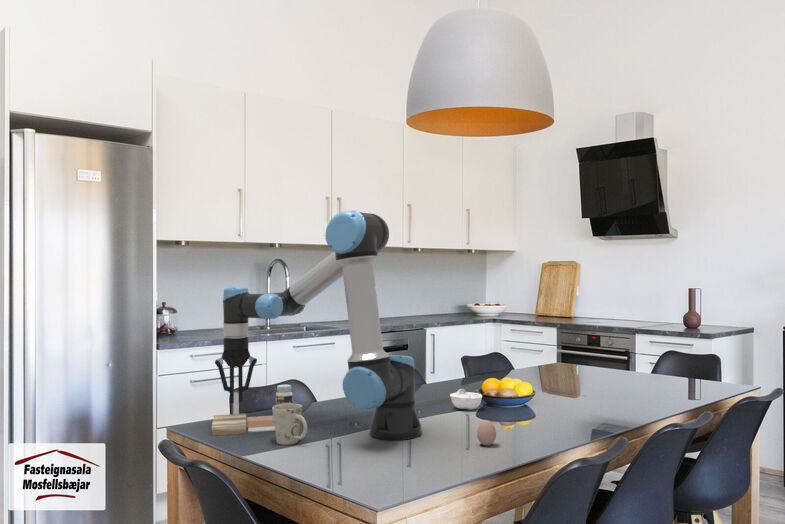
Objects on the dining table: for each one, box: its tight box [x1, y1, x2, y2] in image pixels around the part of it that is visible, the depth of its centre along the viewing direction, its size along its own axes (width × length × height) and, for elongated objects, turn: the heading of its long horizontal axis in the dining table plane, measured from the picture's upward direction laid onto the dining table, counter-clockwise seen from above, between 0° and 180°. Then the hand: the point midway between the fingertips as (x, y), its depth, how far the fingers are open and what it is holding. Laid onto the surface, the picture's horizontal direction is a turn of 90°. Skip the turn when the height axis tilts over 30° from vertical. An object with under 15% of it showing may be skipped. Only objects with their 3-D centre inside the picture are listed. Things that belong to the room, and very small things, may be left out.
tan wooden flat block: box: [211, 413, 248, 437], centre depth 204 cm, size 16×10×2 cm, turn 13°
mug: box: [272, 402, 308, 446], centre depth 186 cm, size 8×13×10 cm, turn 51°
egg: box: [476, 419, 497, 447], centre depth 180 cm, size 5×5×7 cm
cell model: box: [449, 388, 483, 411], centre depth 226 cm, size 10×12×7 cm
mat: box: [247, 426, 275, 433], centre depth 208 cm, size 16×12×1 cm
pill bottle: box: [275, 384, 294, 405], centre depth 221 cm, size 6×6×10 cm
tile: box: [246, 415, 275, 429], centre depth 206 cm, size 9×6×2 cm, turn 103°
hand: (236, 413), depth 205 cm, fingers closed
